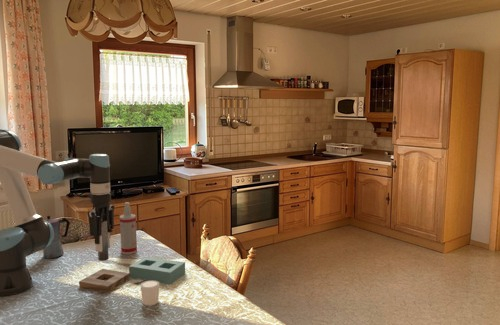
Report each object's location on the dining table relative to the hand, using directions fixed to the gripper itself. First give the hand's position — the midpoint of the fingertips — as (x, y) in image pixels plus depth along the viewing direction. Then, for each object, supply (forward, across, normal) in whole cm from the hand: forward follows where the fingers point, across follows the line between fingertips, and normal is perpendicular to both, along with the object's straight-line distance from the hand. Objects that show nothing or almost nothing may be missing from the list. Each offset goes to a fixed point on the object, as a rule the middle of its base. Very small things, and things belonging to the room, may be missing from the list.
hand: (103, 249), depth 171 cm
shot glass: (+14, -8, -28) cm, 32 cm away
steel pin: (+4, 0, 0) cm, 4 cm away
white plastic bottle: (+15, +35, +14) cm, 40 cm away
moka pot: (+15, +18, +44) cm, 50 cm away
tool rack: (+14, +14, -16) cm, 26 cm away
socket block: (+14, 0, 0) cm, 14 cm away
